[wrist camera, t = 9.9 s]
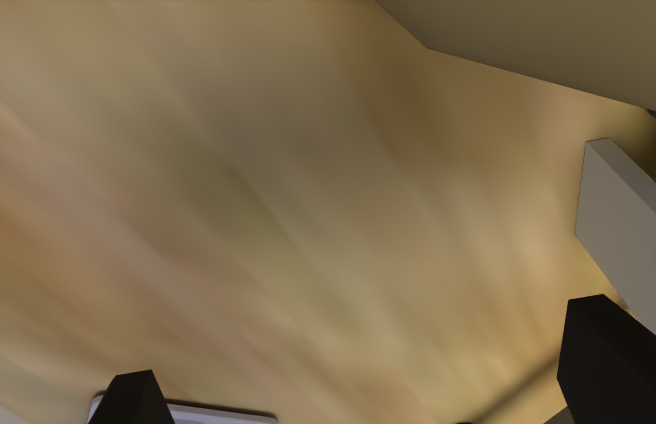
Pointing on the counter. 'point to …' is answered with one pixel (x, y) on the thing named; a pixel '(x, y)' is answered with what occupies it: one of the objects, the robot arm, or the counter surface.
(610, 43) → the squeeze bottle
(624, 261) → the grey u-shaped block
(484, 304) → the counter surface
